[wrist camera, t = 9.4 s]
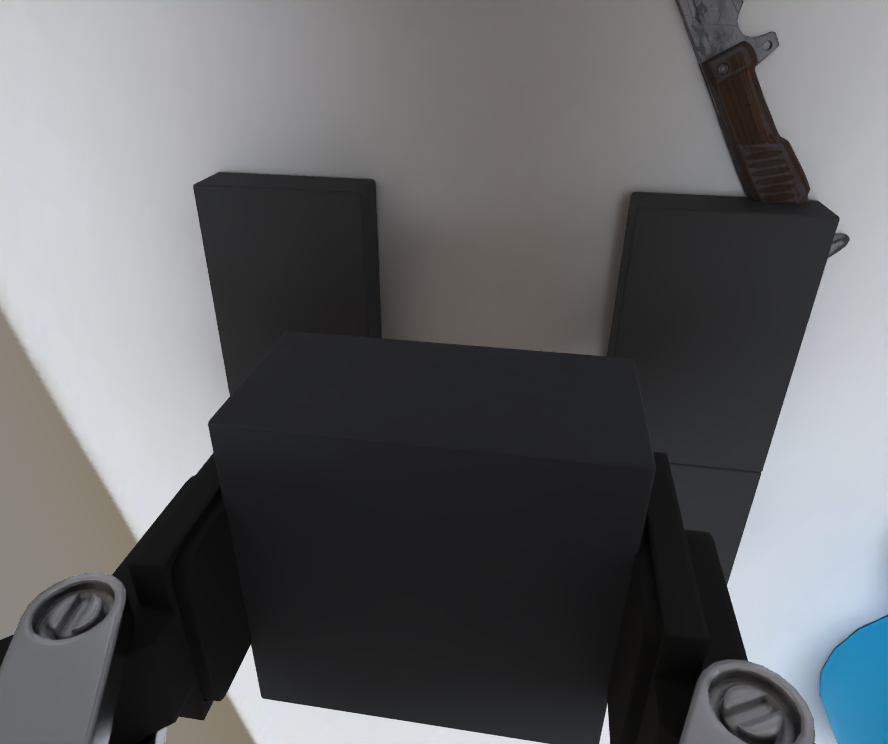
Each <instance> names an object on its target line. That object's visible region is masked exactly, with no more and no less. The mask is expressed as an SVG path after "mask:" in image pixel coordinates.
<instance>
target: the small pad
mask: <svg viewBox="0 0 888 744" xmlns="http://www.w3.org/2000/svg"><path fill="white" fill-rule="evenodd" d="M208 426H209V431H210V437H211V442H212V447H213V452H214V457H215V462H216V467H217V472H218V477H219V483H220V488H221V493H222V498H223V503H224V506H225V507H226V511H227V516H228V522H229V527H230V532H231V537H232V542H233V547H234V552H235V557H236V563H237V568H238V573H239V578H240V583H241V588H242V593H243V599H244V604H245V609H246V614H247V619H248V624H249V629H250V634H251V640H252V643H251V646H252V651H253V656H254V661H255V666H256V671H257V677H258V682H259V687H260V692H261V697H262V698H264V699H270V700H276V701H283V702H289V703H295V704H302V705H308V706H314V707H321V708H327V709H333V710H340V711H346V712H352V713H359V714H365V715H371V716H378V717H384V718H390V719H397V720H403V721H409V722H416V723H422V724H428V725H435V726H441V727H447V728H453V729H460V730H466V731H472V732H479V733H485V734H491V735H498V736H504V737H510V738H517V739H523V740H529V741H536V742H542V743H548V744H599V741H600V736H601V732H602V727H603V722H604V717H605V712H606V707H607V703H608V699H607V692H608V687H609V682H610V677H611V672H612V668H613V663H614V658H615V653H616V648H617V643H618V638H619V633H620V628H621V623H622V619H623V614H624V609H625V604H626V599H627V594H628V589H629V584H630V579H631V574H632V570H633V565H634V560H635V556H636V555H638V553H639V548H640V543H641V538H642V534H643V529H644V524H645V519H646V514H647V510H648V505H649V500H650V495H651V490H652V485H653V481H654V476H655V471H656V466H655V461H654V456H653V451H652V446H651V441H650V436H649V431H648V426H647V421H646V416H645V411H644V406H643V401H642V396H641V392H640V387H639V382H638V377H637V372H636V367H635V362H634V359H631V358H619V357H606V356H594V355H581V354H569V353H556V352H544V351H531V350H519V349H506V348H494V347H481V346H469V345H456V344H444V343H431V342H419V341H406V340H394V339H381V338H369V337H356V336H344V335H331V334H319V333H306V332H294V331H287V332H285V333H284V334H283V335H282V337H281V338H280V339H279V340H278V341H277V342H276V344H275V345H274V346H273V347H272V348H271V349H270V351H269V352H268V353H267V354H266V355H265V356H264V358H263V359H262V360H261V361H260V362H259V363H258V365H257V366H256V367H255V368H254V369H253V370H252V372H251V373H250V374H249V375H248V376H247V377H246V379H245V380H244V381H243V382H242V383H241V384H240V386H239V387H238V388H237V389H236V390H235V391H234V393H233V394H232V395H231V396H230V397H229V398H228V399H227V401H226V402H225V403H224V404H223V405H222V406H221V408H220V409H219V410H218V411H217V412H216V413H215V415H214V416H213V417H212V418H211V419H210V420H209V423H208Z"/></svg>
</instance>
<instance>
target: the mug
mask: <svg viewBox="0 0 888 744" xmlns="http://www.w3.org/2000/svg"><path fill="white" fill-rule="evenodd" d="M820 697H821V699H822V702H823V705H824V708H825V710H826V713H827V716H828V719H829V721H830V724H831V727H832V729H833V732H834V735H835V738H836V740H837V743H838V744H888V616H887V617H885V618H883V619H881V620H879V621H876V622H874V623H872V624H870V625H868V626H865V627H863V628H861V629H859V630H858V631H857V632H855V633H854V634H853V635H852V636H851V637H849V638H848V639H847V640H846V641H844V642H843V643H842V644H841V645H840V646H838V647H837V648H836V649H835V650H834V651H833V653H832V655H831V656H830V658H829V660H828V661H827V663H826V665H825V667H824V668H823V670H822V672H821V683H820Z"/></svg>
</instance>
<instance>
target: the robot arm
mask: <svg viewBox="0 0 888 744" xmlns="http://www.w3.org/2000/svg"><path fill="white" fill-rule="evenodd" d="M653 456H654V461H655V466H656V471H655V476H654V481H653V485H652V490H651V495H650V500H649V505H648V510H647V514H646V519H645V524H644V529H643V534H642V538H641V543H640V548H639V553H638V555H636V556H635V560H634V565H633V570H632V574H631V579H630V584H629V589H628V594H627V599H626V604H625V609H624V614H623V619H622V623H621V628H620V633H619V638H618V643H617V648H616V653H615V658H614V663H613V668H612V672H611V677H610V682H609V687H608V692H607V699H608V715H609V731H610V744H815V743H814V739H815V729H814V719H813V716H812V714H811V712H810V710H809V708H808V705H807V703H806V702H805V700H804V699H803V698H802V697H801V695H800V694H799V693H798V691H797V690H796V689H795V688H794V687H793V686H792V685H791V684H790V683H788V682H787V681H786V680H785V679H783V678H782V677H781V676H780V675H778V674H777V673H775V672H773V671H771V670H769V669H767V668H766V667H764V666H762V665H759V664H755V663H752V662H749V661H748V659H747V656H746V652H745V649H744V645H743V642H742V638H741V635H740V631H739V627H738V624H737V620H736V617H735V613H734V610H733V606H732V603H731V599H730V596H729V592H728V588H727V585H726V581H725V578H724V574H723V571H722V567H721V564H720V560H719V557H718V553H717V549H716V546H715V542H714V540H713V537H712V535H711V534H710V533H709V532H704V531H695V530H686V529H684V525H683V521H682V516H681V512H680V508H679V503H678V499H677V495H676V491H675V486H674V482H673V478H672V473H671V469H670V465H669V460H668V456H667V454H666V453H664V452H654V451H653ZM251 643H252V640H251V634H250V629H249V624H248V619H247V614H246V609H245V604H244V599H243V593H242V588H241V583H240V578H239V573H238V568H237V563H236V557H235V552H234V547H233V542H232V537H231V532H230V527H229V522H228V516H227V511H226V507H225V506H224V503H223V498H222V493H221V488H220V483H219V477H218V472H217V467H216V462H215V457H214V453H213V454H212V455H211V456H210V458H209V459H208V460H207V462H206V463H205V464H204V465H203V467H202V468H201V469H200V470H199V472H198V473H197V474H196V475H195V476H192V477H191V478H190V479H189V480H188V481H187V482H186V483H185V484H184V485H183V487H182V488H181V489H180V490H179V492H178V493H177V494H176V495H175V497H174V498H173V499H172V500H171V502H170V503H169V504H168V505H167V507H166V508H165V509H164V510H163V512H162V513H161V514H160V515H159V517H158V518H157V519H156V521H155V522H154V523H153V524H152V526H151V527H150V528H149V529H148V531H147V532H146V533H145V534H144V536H143V537H142V538H141V539H140V541H139V542H138V543H137V544H136V546H135V547H134V548H133V549H132V551H131V552H130V553H129V554H128V556H127V557H126V558H125V560H124V561H123V562H122V563H121V564H120V566H119V567H118V568H117V569H116V571H115V572H114V573H113V575H109V574H104V573H85V574H81V575H77V576H73V577H69V578H67V579H65V580H63V581H60V582H58V583H56V584H54V585H52V586H51V587H49V588H48V589H46V590H45V591H43V592H42V593H40V594H39V595H38V596H37V597H36V598H35V599H34V600H33V601H32V602H31V603H30V604H29V605H28V607H27V609H26V610H25V612H24V613H23V615H22V616H21V619H20V621H19V624H18V626H17V628H16V631H15V634H14V635H11V636H9V637H7V638H4V639H2V640H0V744H165V739H166V732H167V726H169V725H171V724H172V723H174V722H176V720H177V718H178V717H179V716H180V717H186V718H192V719H198V720H204V719H205V717H206V715H207V713H208V711H209V709H210V707H211V705H212V703H213V701H221V700H222V699H223V698H224V697H225V695H226V693H227V691H228V689H229V687H230V685H231V683H232V681H233V679H234V677H235V675H236V673H237V671H238V669H239V667H240V665H241V663H242V661H243V659H244V657H245V655H246V653H247V651H248V649H249V647H250V645H251Z"/></svg>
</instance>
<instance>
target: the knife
mask: <svg viewBox="0 0 888 744" xmlns="http://www.w3.org/2000/svg"><path fill="white" fill-rule="evenodd" d="M676 2H677V4H678V7H679V10H680V13H681V15H682V18H683V21H684V23H685V26H686V29H687V32H688V34H689V37H690V40H691V42H692V45H693V48H694V51H695V53H696V56H697V59H698V61H699V66H700V69H701V72H702V74H703V77H704V80H705V82H706V85H707V88H708V91H709V93H710V96H711V99H712V102H713V104H714V107H715V110H716V112H717V115H718V119H719V122H720V125H721V127H722V130H723V133H724V136H725V139H726V142H727V144H728V147H729V150H730V153H731V155H732V158H733V161H734V164H735V167H736V169H737V172H738V174H739V177H740V179H741V182H742V184H743V187H744V189H745V191H746V193H747V195H748V198H749V199H751V200H754V201H757V202H766V203H790V204H807V203H809V201H808V198H807V195H808V193H809V191H810V187H809V184H808V181H807V179H806V176H805V174H804V171H803V169H802V167H801V165H800V163H799V161H798V159H797V157H796V155H795V153H794V151H793V149H792V147H791V145H790V143H789V142H788V141H787V140H786V139H784V138H782V137H780V135H779V134H778V132H777V129H776V127H775V124H774V122H773V119H772V117H771V114H770V111H769V109H768V106H767V104H766V101H765V99H764V96H763V93H762V90H761V87H760V84H759V81H758V79H757V76H756V73H755V67H756V66H757V65H758V64H759V63H760V62H761V61H762V60H763V59H764V58H766V57H767V56H768V55H769V54H770V53H771V52H772V51H774V50H775V49H776V48H777V47H778V46H779V42H778V39H777V36H776V33H775V32H769V33H767V34H764V35H761V36H758V37H748V36H745V35H743V34H742V33H741V31H740V30H739V27H738V23H737V19H738V14H739V12H740V9H741V6H742V4H743V0H676ZM766 41H769V42H770V44H771V46H770V48H769V49H768V50H764V48H763V45H764V43H765V42H766ZM848 242H849V237H848V236H847V235H845V234H835V235H834V239H833V242H832V245H831V248H830V252H829V255H828V258H829V257H831V256H832V255H834V254H835V253H837V252H838V251H840V250H841V249H842V248H844V247H845V246H846V245H847V243H848Z"/></svg>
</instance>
